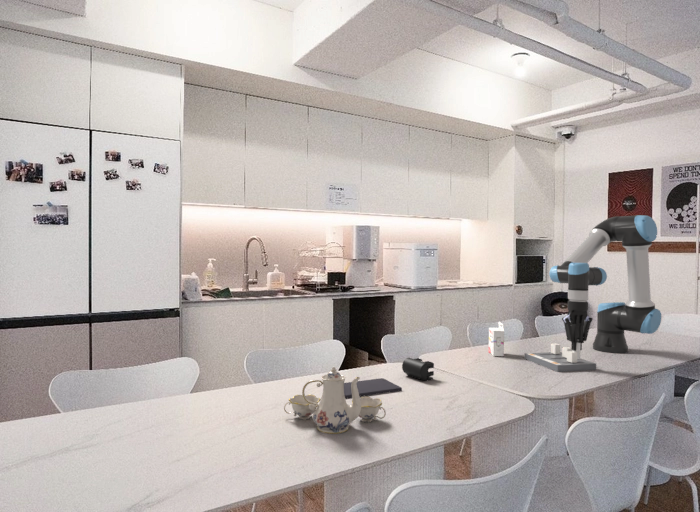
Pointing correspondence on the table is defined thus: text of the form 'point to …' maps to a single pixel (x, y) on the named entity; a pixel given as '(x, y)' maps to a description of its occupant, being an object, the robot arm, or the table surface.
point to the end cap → (418, 368)
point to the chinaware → (335, 405)
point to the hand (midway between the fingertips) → (576, 358)
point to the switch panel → (559, 362)
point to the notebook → (371, 387)
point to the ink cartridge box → (496, 340)
